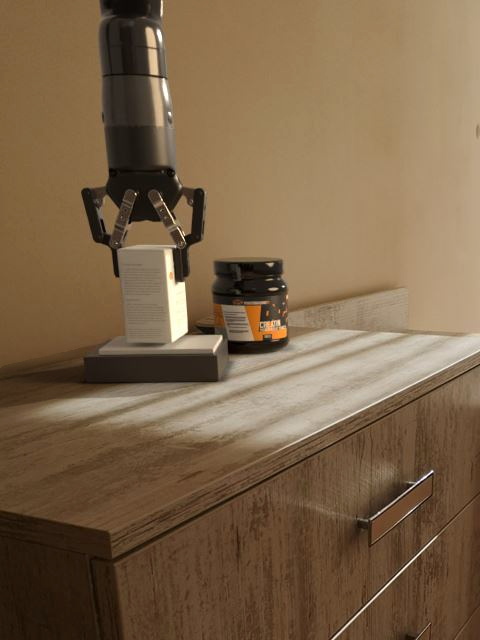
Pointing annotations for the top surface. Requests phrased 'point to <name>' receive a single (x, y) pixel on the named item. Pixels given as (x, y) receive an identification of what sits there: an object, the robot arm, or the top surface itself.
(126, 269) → the small box
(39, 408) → the top surface
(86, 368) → the scale
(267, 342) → the supplement container
